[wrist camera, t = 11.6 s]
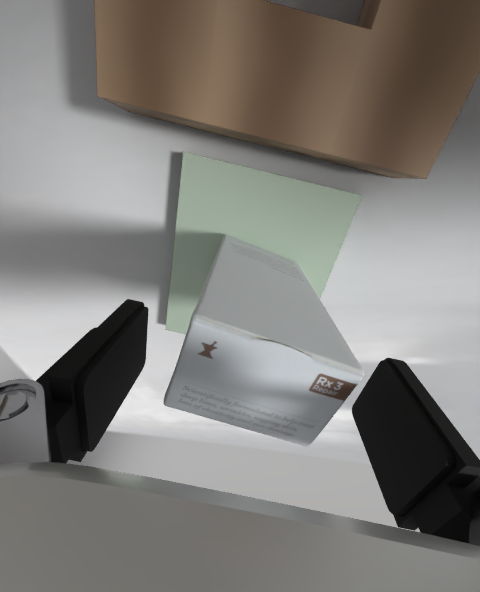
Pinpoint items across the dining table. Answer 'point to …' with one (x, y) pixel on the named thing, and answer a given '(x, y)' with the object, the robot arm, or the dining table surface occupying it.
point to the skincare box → (262, 349)
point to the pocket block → (297, 74)
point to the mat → (251, 225)
